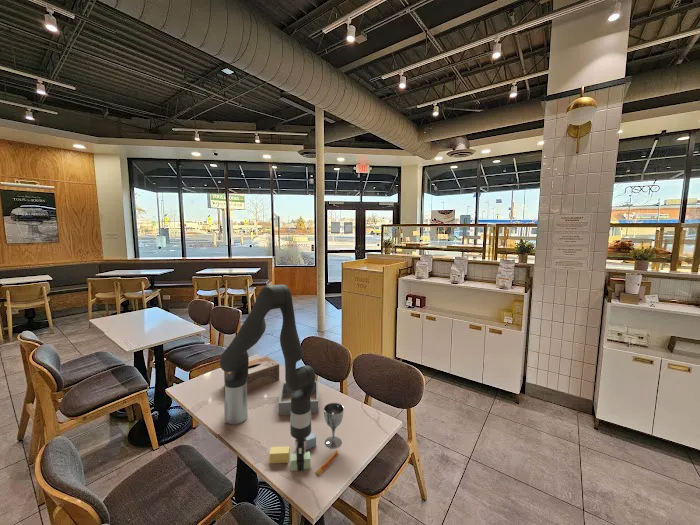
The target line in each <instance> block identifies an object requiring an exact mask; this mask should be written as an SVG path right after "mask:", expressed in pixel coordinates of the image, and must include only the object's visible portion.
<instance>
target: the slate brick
mask: <svg viewBox="0 0 700 525" xmlns="http://www.w3.org/2000/svg"><path fill="white" fill-rule="evenodd" d="M316 446H317V437H316V434H315V433H314V431H311V433H310V435H309V436H308V437H306V445H305V451H306V450H308V449H309V450H310V449H312V448H314V447H316ZM297 448H298V446H297Z"/></svg>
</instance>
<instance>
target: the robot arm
mask: <svg viewBox="0 0 700 525" xmlns="http://www.w3.org/2000/svg"><path fill="white" fill-rule="evenodd" d="M293 303H294V302H293V298H292V292H291V290H290V288H289V287H288V285H285V284H269V285H266V286H263V287H262V288H261V290H260V291H259V293H258V295H257V297H256V300H255V302H254V303H253V306H252V308H251V310H250V312H249V313H248V315H247V317H246V318H245V320H244V321H243V322H242V325H241V326H240V328H239V330H238V332H236V335H235V336H234V338H233V339H232V341H231V342H230V344H229V345H228V346H227V347H226V348H225V350H224V351H223V352H222V354H221V355H220V358H219V366H220V368H221V370H222V371H223V372H224V371H225V372H231V373H230V374H229V375H228V376H227V377H226V379H225V382H224V387H225V388H224V389H225V391H224V392H225V393H224V394H225V399H224V404H223V408H224V423H226V424H229V425H239V424H242V423H243V422H245V421H246V420H247V418H248V392H247V377H248V365H249V361H250V359H249V354H248V350H250V349H251V348H252V347H253V346H255V345H256V344H257V343H258V342H259V341H260V339H261V338H262V336H263V335H264V333H265V332H266V328H267V326H266V325H267V324H266V320H265V317H266V315H267V314H268V313H269V312H270V311H272V310H276V309H280V312H281V314H282V325H281V329H280V335H279V342H280V347H281V351H282V354H283V359H284V371H285V372H284V374H285V375H284V377H285V378H284V379H285V383H286V385H287V387H288V388H289V389H290V390H291V391H296V392H295V393H294V394H291V398H290V401H291V414H289V417H290V418H289V420H290V423H289V424H290V429H289V430H290V436H291V437H292V438H294V439H295V440H294V441H295V442H294V445H295V453H296V455H297V462H296V464H297V470H296V471H297V472H303V471H304V470H305V469H304V454H305V452H306V450H305V445H306V437H308V436H309V435H310V433H311V432H312V413H311V409H310V400H311V398H312V395H313V393H312V391H313V387H314V384H315V381H316V373H315V370H314V368H313V367H312V366H310V365H307V364H306V365H303V366H300V367H298V368H297V363H298V362H300V361H301V360H302V359H304V356H305V354H304V350H303V348H302V344H301V341H300V338H299V334H298V329H297V324H296V317H295V316H296V315H295V311H294V310H295V309H294V304H293ZM297 446H298V448H297Z"/></svg>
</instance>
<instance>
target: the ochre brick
mask: <svg viewBox="0 0 700 525" xmlns="http://www.w3.org/2000/svg"><path fill="white" fill-rule="evenodd" d="M289 460H290V446H289V445H287V446H271V447H270V450H269V464H282V463H283V464H284V463H289Z"/></svg>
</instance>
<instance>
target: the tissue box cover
mask: <svg viewBox="0 0 700 525" xmlns="http://www.w3.org/2000/svg"><path fill="white" fill-rule="evenodd" d="M230 373H231V372H225V371H223V374H224V375H223V376H224V378H223V379H224V383H225V379H226V377H227V376H228V375H229V374H230ZM278 381H280V364H279V363H278V362H276V361H275V360H274V359H272V358H271V357H269V356H267V355H266V356H262V357H260V358H256V359H252V360H249V365H248V377H247V393H249V392H253V391H254V390H255V391H256V390H258V389H260V388H263V387H265V386H267V385H270V384H273V383H275V382H278Z"/></svg>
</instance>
